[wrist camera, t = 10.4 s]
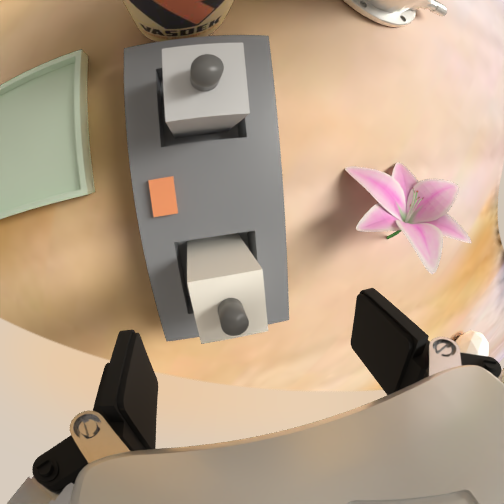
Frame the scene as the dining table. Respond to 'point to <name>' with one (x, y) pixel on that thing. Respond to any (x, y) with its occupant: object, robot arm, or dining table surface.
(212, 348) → the dining table surface
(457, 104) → the dining table surface
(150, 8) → the coffee cup
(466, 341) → the geometric ball
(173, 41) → the power strip
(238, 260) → the cream plug
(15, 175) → the sage tray
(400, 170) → the lily
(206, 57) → the grey twin plug
